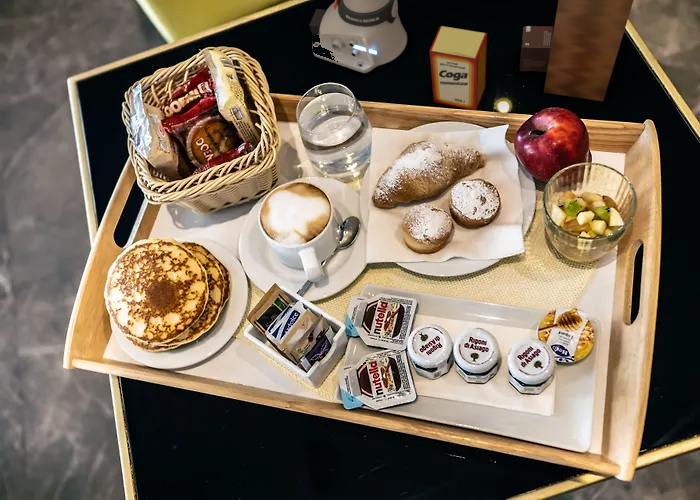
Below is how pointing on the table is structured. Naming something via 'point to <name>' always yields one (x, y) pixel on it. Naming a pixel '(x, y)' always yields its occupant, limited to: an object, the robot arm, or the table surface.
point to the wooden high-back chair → (585, 46)
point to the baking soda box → (458, 67)
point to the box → (536, 48)
